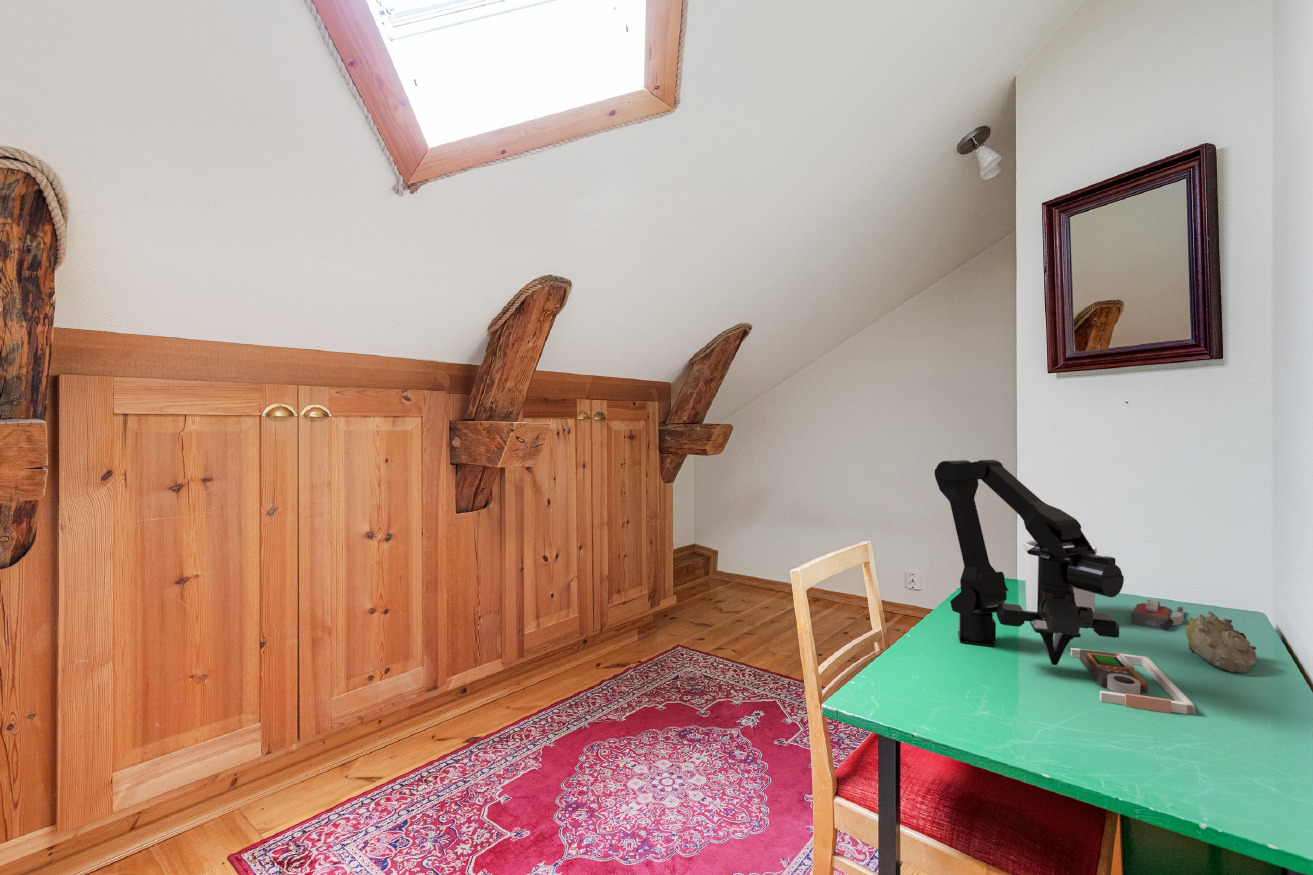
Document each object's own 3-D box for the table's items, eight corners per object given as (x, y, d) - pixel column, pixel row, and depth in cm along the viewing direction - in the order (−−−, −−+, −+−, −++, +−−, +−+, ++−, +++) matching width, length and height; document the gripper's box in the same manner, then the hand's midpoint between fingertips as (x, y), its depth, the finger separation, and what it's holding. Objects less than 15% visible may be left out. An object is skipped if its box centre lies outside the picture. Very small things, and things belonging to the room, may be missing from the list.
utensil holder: (1010, 612, 150) (1011, 542, 149) (1042, 603, 158) (1043, 536, 157) (1076, 630, 137) (1077, 553, 137) (1107, 618, 145) (1109, 546, 144)
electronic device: (1107, 681, 106) (1079, 646, 120) (1106, 697, 106) (1079, 661, 120) (1154, 687, 103) (1120, 651, 117) (1153, 703, 104) (1120, 665, 118)
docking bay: (1102, 702, 102) (1102, 691, 102) (1070, 654, 123) (1070, 645, 123) (1196, 716, 97) (1196, 704, 97) (1147, 664, 118) (1147, 654, 118)
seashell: (1187, 674, 116) (1190, 624, 115) (1178, 643, 128) (1181, 598, 127) (1268, 690, 110) (1272, 637, 109) (1250, 656, 122) (1254, 608, 121)
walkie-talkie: (1179, 635, 135) (1186, 614, 149) (1179, 615, 134) (1186, 596, 149) (1129, 626, 141) (1140, 607, 155) (1129, 607, 141) (1140, 589, 155)
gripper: (1005, 588, 110) (1003, 673, 111) (1130, 600, 103) (1128, 690, 104) (997, 573, 121) (995, 651, 121) (1110, 583, 113) (1108, 665, 114)
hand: (1054, 664), depth 115 cm, fingers closed
